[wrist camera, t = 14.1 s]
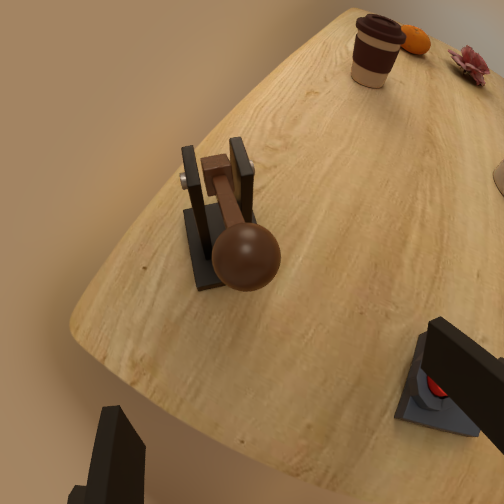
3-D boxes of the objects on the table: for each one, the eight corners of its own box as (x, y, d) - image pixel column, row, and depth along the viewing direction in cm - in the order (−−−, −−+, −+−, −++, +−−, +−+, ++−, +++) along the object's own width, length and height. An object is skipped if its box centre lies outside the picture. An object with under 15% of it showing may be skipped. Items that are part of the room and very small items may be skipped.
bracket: (270, 275, 34) (284, 200, 21) (198, 291, 33) (171, 222, 20) (248, 202, 38) (250, 114, 26) (184, 215, 37) (161, 129, 25)
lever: (290, 296, 16) (289, 242, 14) (223, 312, 16) (211, 259, 14) (237, 182, 27) (233, 145, 25) (197, 190, 27) (190, 152, 24)
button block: (386, 415, 27) (403, 416, 23) (412, 331, 31) (430, 322, 27) (467, 436, 25) (487, 437, 21) (486, 361, 29) (506, 355, 25)
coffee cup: (337, 77, 53) (351, 14, 39) (353, 63, 57) (367, 8, 43) (381, 98, 50) (403, 35, 37) (393, 82, 54) (412, 27, 41)
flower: (452, 67, 58) (471, 44, 50) (439, 53, 66) (455, 32, 58) (486, 99, 60) (504, 78, 52) (471, 80, 68) (487, 62, 60)
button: (422, 391, 25) (431, 390, 23) (432, 354, 26) (442, 351, 25) (450, 400, 24) (460, 399, 22) (459, 364, 26) (469, 362, 24)
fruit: (393, 49, 64) (400, 26, 57) (392, 38, 68) (398, 17, 61) (427, 63, 62) (436, 41, 55) (424, 51, 67) (431, 30, 60)
